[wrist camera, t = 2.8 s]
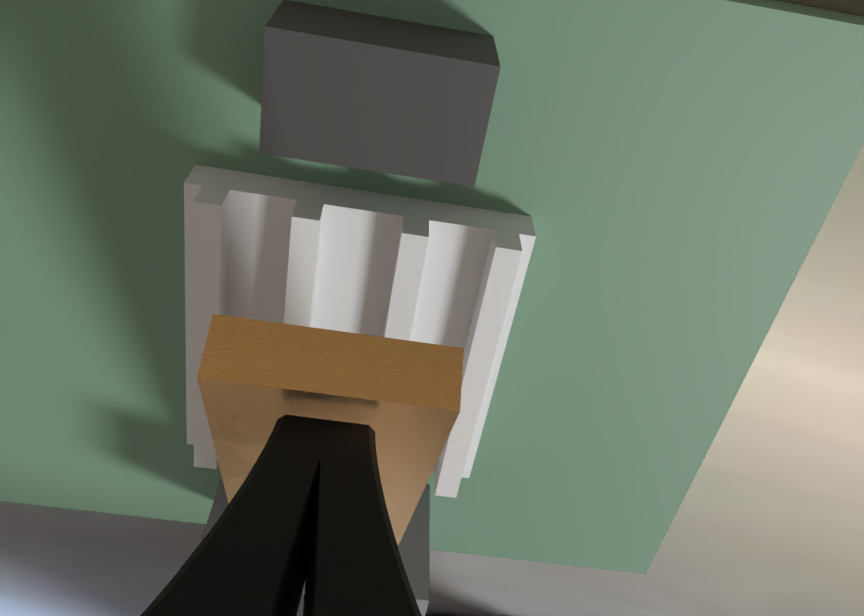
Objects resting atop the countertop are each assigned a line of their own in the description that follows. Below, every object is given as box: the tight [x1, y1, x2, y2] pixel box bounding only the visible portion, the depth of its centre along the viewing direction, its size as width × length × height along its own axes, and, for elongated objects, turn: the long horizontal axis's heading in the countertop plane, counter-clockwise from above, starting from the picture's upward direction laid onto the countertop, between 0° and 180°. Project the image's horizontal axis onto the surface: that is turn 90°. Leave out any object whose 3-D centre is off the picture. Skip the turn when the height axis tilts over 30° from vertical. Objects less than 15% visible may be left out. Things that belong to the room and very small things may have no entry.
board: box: [0, 0, 864, 616], centre depth 19 cm, size 18×22×5 cm
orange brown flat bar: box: [197, 314, 464, 593], centre depth 17 cm, size 14×4×1 cm, turn 170°
